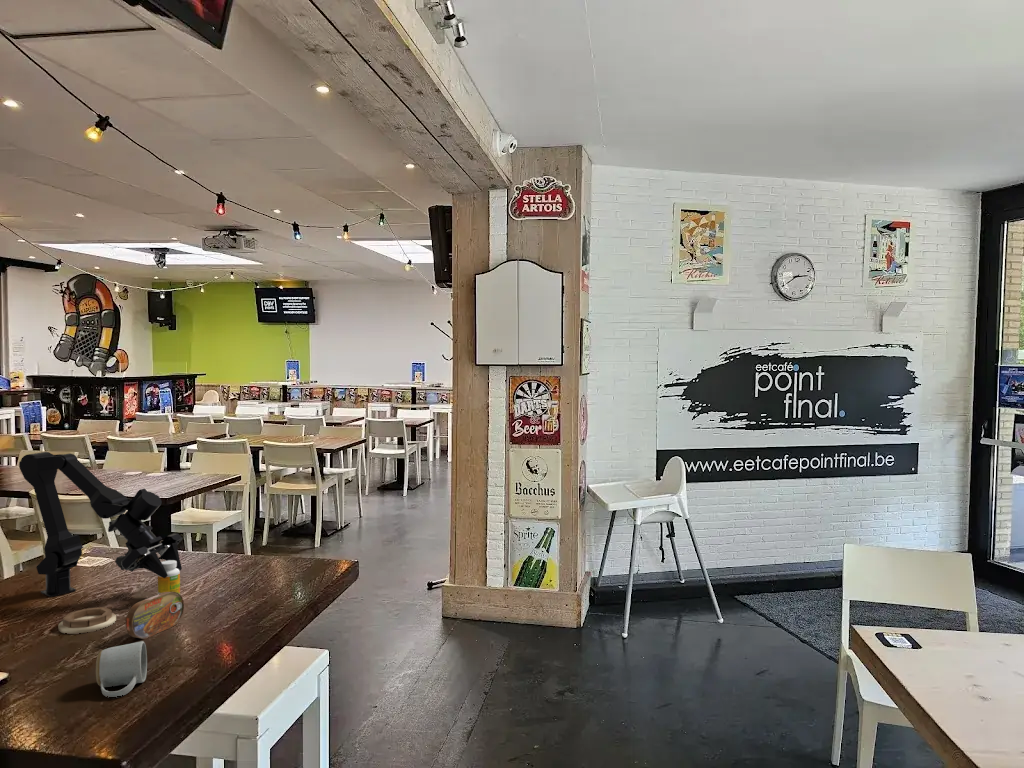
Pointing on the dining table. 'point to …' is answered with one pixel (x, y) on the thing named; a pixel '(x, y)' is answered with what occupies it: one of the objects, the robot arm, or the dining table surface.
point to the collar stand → (87, 620)
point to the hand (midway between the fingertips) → (173, 573)
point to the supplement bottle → (169, 578)
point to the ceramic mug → (121, 667)
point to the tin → (154, 615)
